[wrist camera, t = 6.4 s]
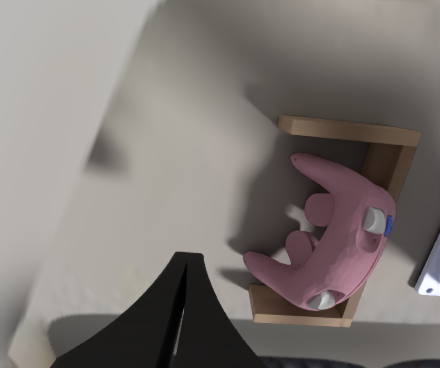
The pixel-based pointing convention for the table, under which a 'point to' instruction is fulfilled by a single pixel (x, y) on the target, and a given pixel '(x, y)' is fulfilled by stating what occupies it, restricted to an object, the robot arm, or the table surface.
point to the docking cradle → (372, 170)
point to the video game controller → (330, 238)
